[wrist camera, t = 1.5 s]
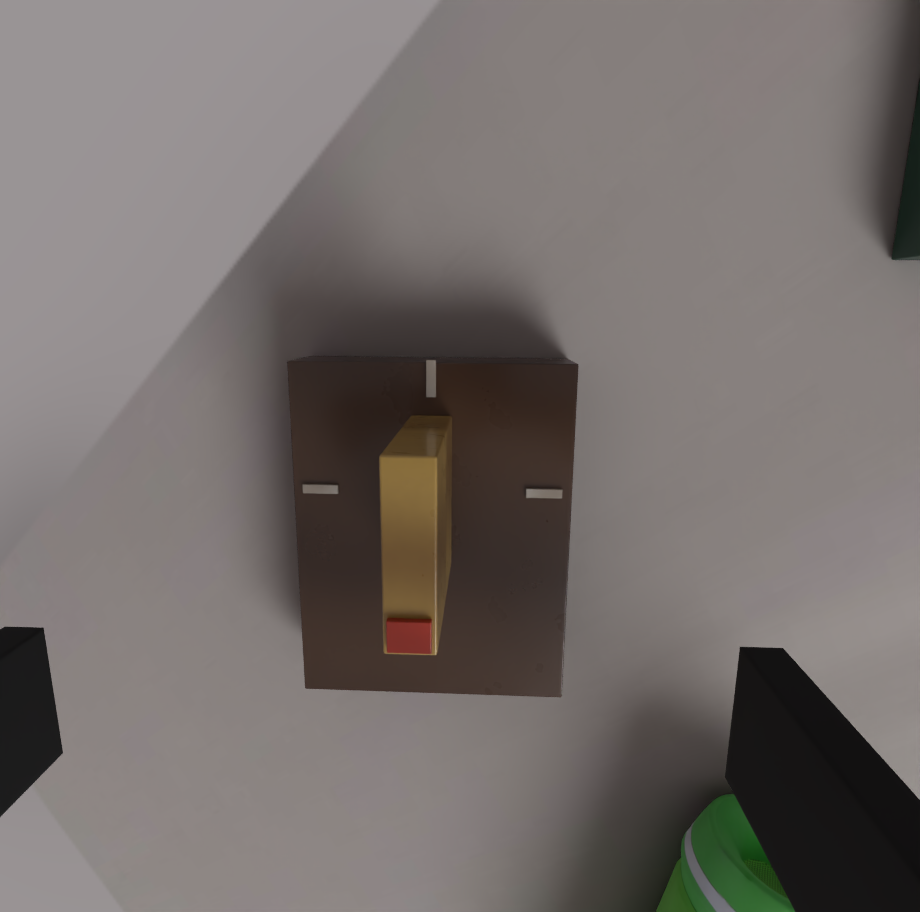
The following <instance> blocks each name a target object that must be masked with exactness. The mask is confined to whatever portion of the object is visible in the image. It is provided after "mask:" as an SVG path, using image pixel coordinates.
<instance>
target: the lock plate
mask: <svg viewBox="0 0 920 912" xmlns="http://www.w3.org/2000/svg"><path fill="white" fill-rule="evenodd" d="M287 364H288V382H289V401H290V419H291V437H292V456H293V474H294V492H295V511H296V529H297V547H298V565H299V584H300V602H301V620H302V639H303V657H304V675H305V688H306V689H335V690H364V691H393V692H423V693H452V694H481V695H511V696H540V697H561V696H562V681H563V661H564V641H565V621H566V601H567V581H568V561H569V541H570V522H571V502H572V482H573V462H574V442H575V422H576V402H577V382H578V364H576V363H574V362H573V361H571V360H569V359H545V358H452V357H359V356H308V357H303V358H299V359H294V360H290V361H288V362H287ZM412 415H422V416H451V417H452V533H451V567H450V574H449V580H448V587H447V594H446V600H445V607H444V613H443V620H442V627H441V633H440V640H439V646H438V653H437V655H410V654H385V653H384V651H383V612H382V567H381V523H380V478H379V456H380V455H381V453H382V452H383V451H384V450H385V448H386V447H387V446H388V445H389V443H390V442H391V441H392V439H393V438H394V437H395V436H396V434H397V433H398V432H399V430H400V429H401V428H402V427H403V425H404V424H405V423H406V421H407V420H408V419H409V418H410V416H412Z"/></svg>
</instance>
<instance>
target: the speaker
mask: <svg viewBox="0 0 920 912" xmlns="http://www.w3.org/2000/svg"><path fill="white" fill-rule="evenodd" d="M656 912H795V910H794V908H793V906H792V905H791V903H790V901H789V899H788V897H787V895H786V893H785V891H784V889H783V887H782V885H781V883H780V881H779V880H778V878H777V876H776V874H775V872H774V870H773V868H772V866H771V864H770V862H769V860H768V858H767V856H766V855H765V853H764V851H763V849H762V847H761V845H760V843H759V841H758V839H757V837H756V835H755V833H754V832H753V830H752V828H751V826H750V824H749V822H748V820H747V818H746V816H745V814H744V812H743V810H742V808H741V807H740V805H739V803H738V801H737V799H736V797H735V795H734V794H726V795H722V796H720V797H718V798H716V799H714V800H713V801H712V802H711V803H710V804H709V805H708V806H707V807H706V808H705V809H704V810H703V811H702V813H701V814H700V815H699V816H698V817H697V819H696V820H695V821H694V822H693V824H692V825H691V826H690V828H689V829H688V830H687V831H686V833H685V834H684V836H683V839H682V844H681V858H680V859H679V860H678V861H677V863H676V865H675V868H674V870H673V872H672V875H671V877H670V879H669V882H668V884H667V887H666V889H665V891H664V894H663V896H662V898H661V901H660V903H659V906H658V908H657V910H656Z"/></svg>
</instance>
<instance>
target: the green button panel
mask: <svg viewBox="0 0 920 912" xmlns="http://www.w3.org/2000/svg"><path fill="white" fill-rule="evenodd" d="M892 259H893V260H920V82H919V88H918V94H917V101H916V107H915V113H914V120H913V126H912V132H911V139H910V145H909V151H908V158H907V164H906V171H905V177H904V183H903V190H902V196H901V202H900V209H899V215H898V221H897V228H896V234H895V240H894V247H893V253H892Z"/></svg>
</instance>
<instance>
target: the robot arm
mask: <svg viewBox="0 0 920 912" xmlns="http://www.w3.org/2000/svg"><path fill="white" fill-rule="evenodd" d="M62 753H63V751H62V744H61V738H60V731H59V725H58V718H57V712H56V705H55V699H54V693H53V686H52V680H51V673H50V667H49V660H48V654H47V647H46V641H45V634H44V628H33V627H4V628H2V629H0V817H1V815H3V814H4V813H5V812H6V810H7V809H8V808H9V807H10V806H11V805H12V804H13V803H14V802H15V801H16V800H17V799H18V798H19V797H20V796H21V795H22V794H23V793H24V792H25V791H26V790H27V789H28V788H29V787H30V786H31V785H32V784H33V783H34V782H35V781H36V780H37V779H38V778H39V777H40V776H41V775H42V774H43V773H44V772H45V771H46V770H47V769H48V768H49V767H50V766H51V765H52V764H53V763H54V762H55V760H56V759H57V758H58V757H59V756H60V755H61V754H62ZM725 778H726V780H727V782H728V784H729V785H730V787H731V789H732V791H733V793H734V795H735V797H736V799H737V801H738V803H739V805H740V807H741V808H742V810H743V812H744V814H745V816H746V818H747V820H748V822H749V824H750V826H751V828H752V830H753V832H754V833H755V835H756V837H757V839H758V841H759V843H760V845H761V847H762V849H763V851H764V853H765V855H766V856H767V858H768V860H769V862H770V864H771V866H772V868H773V870H774V872H775V874H776V876H777V878H778V880H779V881H780V883H781V885H782V887H783V889H784V891H785V893H786V895H787V897H788V899H789V901H790V903H791V905H792V906H793V908H794V910H795V912H920V800H919V799H918V798H917V796H916V795H915V794H914V793H913V792H912V791H911V790H910V789H909V788H908V786H907V785H906V784H905V783H904V782H903V781H902V780H901V779H900V778H899V776H898V775H897V774H896V773H895V772H894V771H893V770H892V769H891V768H890V766H889V765H888V764H887V763H886V762H885V761H884V760H883V759H882V758H881V756H880V755H879V754H878V753H877V752H876V751H875V750H874V749H873V748H872V747H871V745H870V744H869V743H868V742H867V741H866V740H865V739H864V738H863V737H862V735H861V734H860V733H859V732H858V731H857V730H856V729H855V728H854V727H853V725H852V724H851V723H850V722H849V721H848V720H847V719H846V718H845V717H844V715H843V714H842V713H841V712H840V711H839V710H838V709H837V708H836V707H835V705H834V704H833V703H832V702H831V701H830V700H829V699H828V698H827V697H826V695H825V694H824V693H823V692H822V691H821V690H820V689H819V688H818V687H817V685H816V684H815V683H814V682H813V681H812V680H811V679H810V678H809V677H808V675H807V674H806V673H805V672H804V671H803V670H802V669H801V668H800V667H799V666H798V664H797V663H796V662H795V661H794V660H793V659H792V658H791V657H790V656H789V654H788V653H787V652H786V651H785V650H784V649H783V648H760V647H740V652H739V661H738V670H737V678H736V687H735V695H734V704H733V713H732V721H731V730H730V739H729V747H728V756H727V764H726V773H725Z"/></svg>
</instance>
